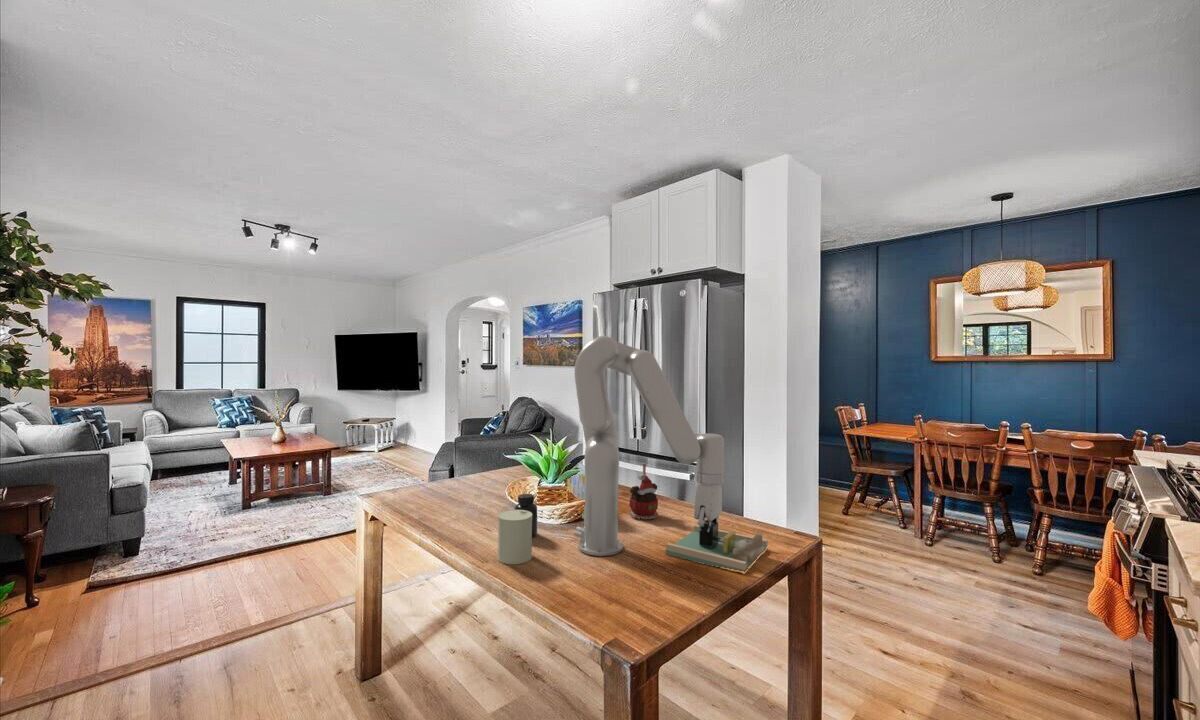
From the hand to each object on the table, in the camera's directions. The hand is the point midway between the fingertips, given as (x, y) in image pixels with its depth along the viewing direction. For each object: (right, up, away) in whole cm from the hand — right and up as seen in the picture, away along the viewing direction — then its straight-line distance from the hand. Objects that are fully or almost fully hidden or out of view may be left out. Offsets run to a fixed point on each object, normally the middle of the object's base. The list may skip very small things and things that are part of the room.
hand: (708, 541), depth 142 cm
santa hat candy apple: (-16, -2, +29) cm, 33 cm away
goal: (+9, -1, -6) cm, 11 cm away
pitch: (+2, -2, -1) cm, 3 cm away
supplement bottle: (-53, -2, +10) cm, 54 cm away
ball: (+8, +1, -5) cm, 10 cm away
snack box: (-37, -2, +34) cm, 50 cm away
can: (-54, -2, -7) cm, 54 cm away
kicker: (+2, -1, -1) cm, 2 cm away
